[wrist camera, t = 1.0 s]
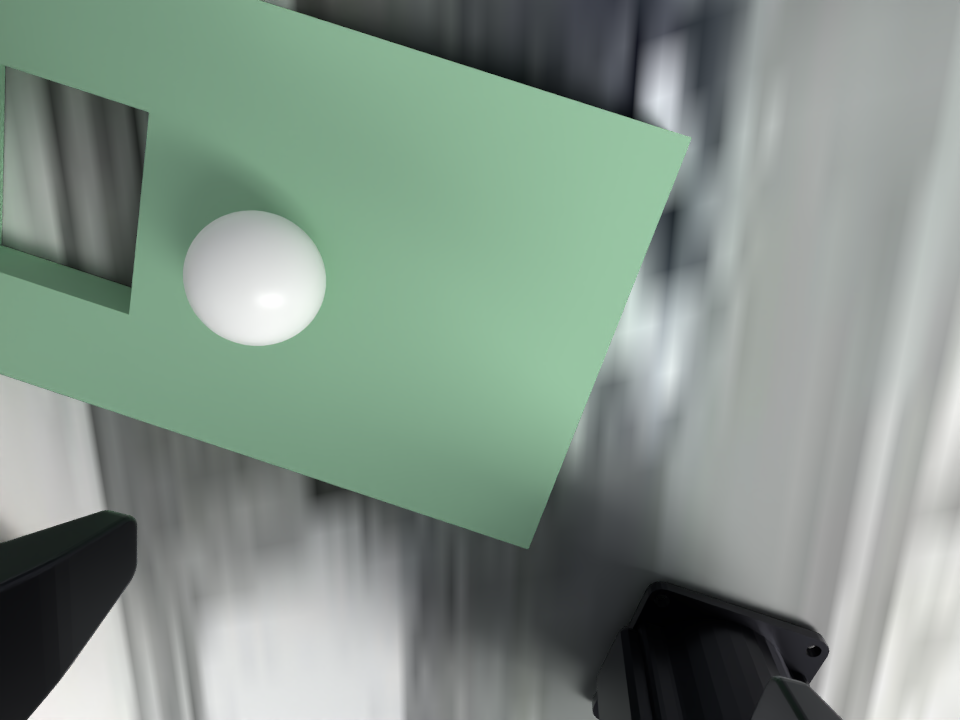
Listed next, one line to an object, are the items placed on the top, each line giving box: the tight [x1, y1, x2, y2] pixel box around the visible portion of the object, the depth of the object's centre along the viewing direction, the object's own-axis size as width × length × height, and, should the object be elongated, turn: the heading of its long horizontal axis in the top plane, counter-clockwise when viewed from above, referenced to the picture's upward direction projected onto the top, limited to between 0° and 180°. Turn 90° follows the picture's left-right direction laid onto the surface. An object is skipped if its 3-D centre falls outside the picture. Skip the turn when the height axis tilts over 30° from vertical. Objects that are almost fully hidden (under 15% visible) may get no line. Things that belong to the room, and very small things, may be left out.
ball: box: [183, 210, 326, 346], centre depth 16 cm, size 4×4×4 cm
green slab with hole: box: [0, 0, 691, 549], centre depth 17 cm, size 22×13×4 cm, turn 74°
